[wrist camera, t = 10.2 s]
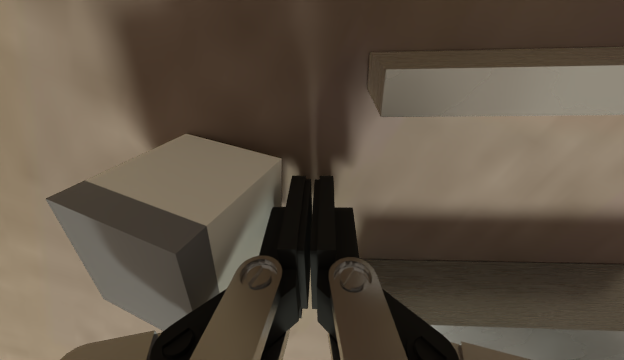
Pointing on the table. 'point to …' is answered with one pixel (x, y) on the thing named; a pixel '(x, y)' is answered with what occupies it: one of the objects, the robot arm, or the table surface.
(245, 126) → the table surface
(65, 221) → the grey block
